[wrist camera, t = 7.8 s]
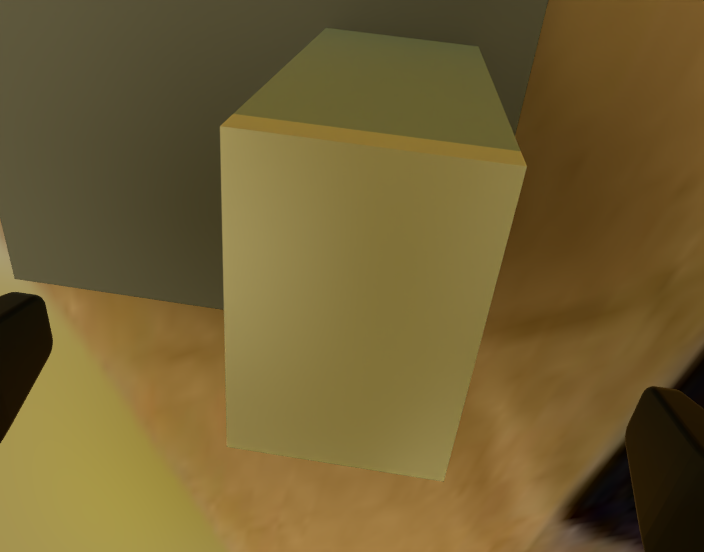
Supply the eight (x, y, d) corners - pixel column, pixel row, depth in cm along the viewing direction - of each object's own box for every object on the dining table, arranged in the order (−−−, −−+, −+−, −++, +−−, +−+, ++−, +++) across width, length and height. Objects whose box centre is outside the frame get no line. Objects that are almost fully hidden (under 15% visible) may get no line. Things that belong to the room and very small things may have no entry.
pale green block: (478, 46, 15) (527, 165, 7) (438, 248, 18) (443, 481, 11) (326, 27, 15) (219, 125, 8) (312, 231, 18) (226, 446, 11)
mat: (569, -105, 14) (574, -107, 13) (462, 334, 20) (462, 345, 20) (-77, -176, 15) (-95, -180, 14) (24, 270, 21) (14, 278, 21)
